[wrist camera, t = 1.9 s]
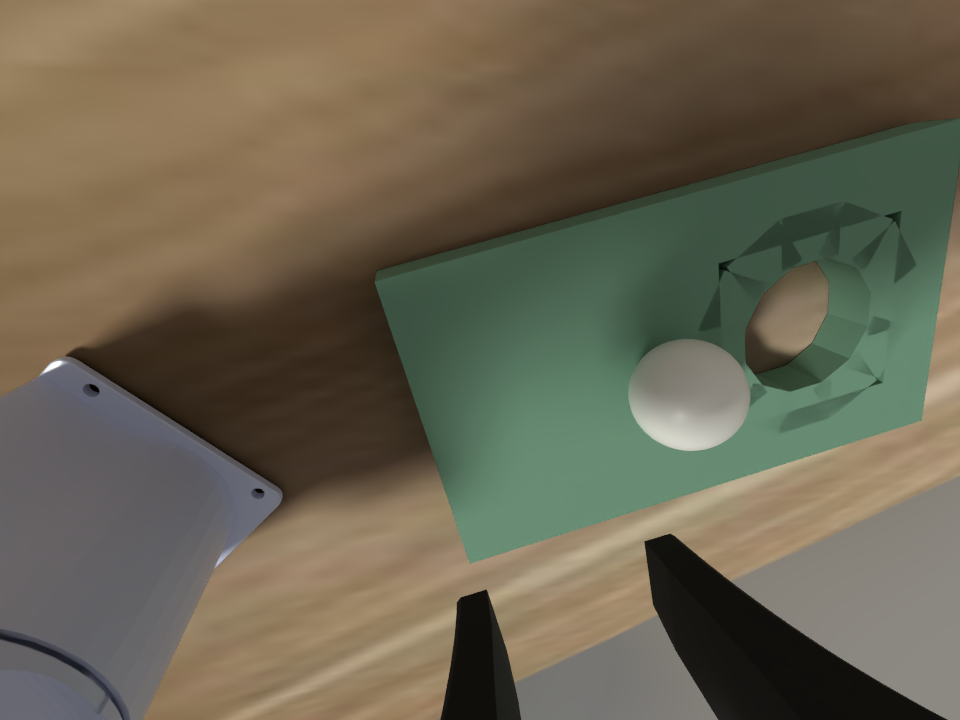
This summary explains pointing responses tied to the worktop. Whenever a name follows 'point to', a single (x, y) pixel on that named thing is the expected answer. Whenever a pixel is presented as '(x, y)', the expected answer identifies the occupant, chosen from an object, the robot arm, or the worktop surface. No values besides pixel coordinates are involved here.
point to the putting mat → (672, 331)
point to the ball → (689, 394)
